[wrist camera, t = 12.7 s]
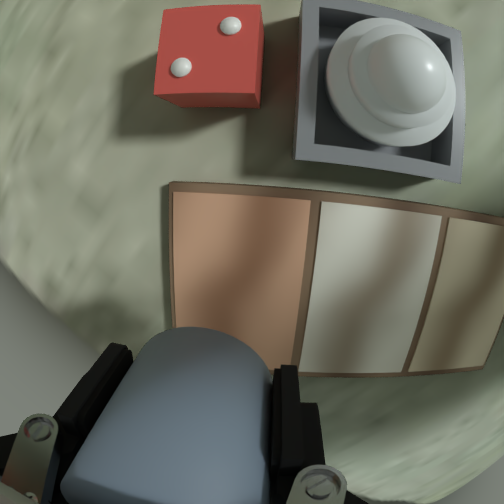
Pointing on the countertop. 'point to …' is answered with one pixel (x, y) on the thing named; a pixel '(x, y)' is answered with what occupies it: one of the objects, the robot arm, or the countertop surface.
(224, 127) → the countertop surface
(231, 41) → the red die
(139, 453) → the pawn
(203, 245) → the game track
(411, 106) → the dome
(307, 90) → the base
